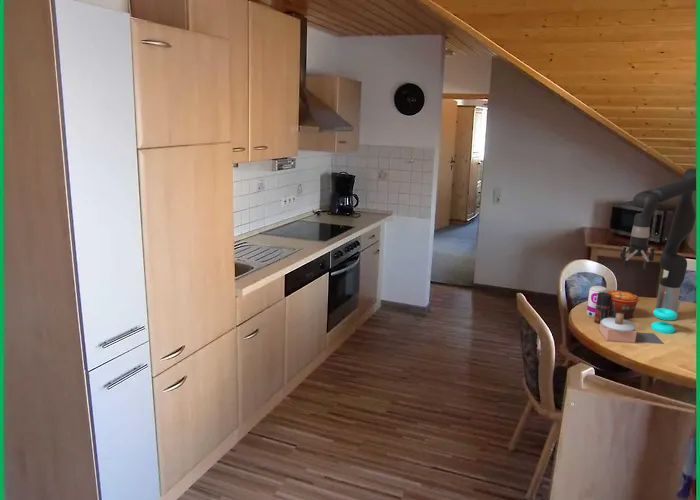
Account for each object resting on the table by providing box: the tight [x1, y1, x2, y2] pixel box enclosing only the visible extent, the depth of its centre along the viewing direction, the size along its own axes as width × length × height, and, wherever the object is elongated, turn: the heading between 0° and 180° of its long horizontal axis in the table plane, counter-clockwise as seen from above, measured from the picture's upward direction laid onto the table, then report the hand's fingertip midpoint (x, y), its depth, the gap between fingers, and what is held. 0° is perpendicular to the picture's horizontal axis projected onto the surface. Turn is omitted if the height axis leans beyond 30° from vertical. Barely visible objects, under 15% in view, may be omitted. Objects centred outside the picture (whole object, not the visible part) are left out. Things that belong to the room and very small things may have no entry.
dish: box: [598, 320, 638, 344], centre depth 252 cm, size 12×12×6 cm
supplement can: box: [586, 285, 608, 319], centre depth 278 cm, size 8×8×15 cm
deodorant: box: [593, 292, 611, 325], centre depth 268 cm, size 6×6×15 cm
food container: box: [607, 289, 640, 320], centre depth 281 cm, size 16×16×11 cm
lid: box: [602, 313, 637, 332], centre depth 250 cm, size 14×14×6 cm
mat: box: [635, 331, 665, 345], centre depth 252 cm, size 12×12×1 cm
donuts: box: [650, 308, 678, 334], centre depth 261 cm, size 10×10×10 cm
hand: (635, 268), depth 264 cm, fingers open, 8 cm apart
